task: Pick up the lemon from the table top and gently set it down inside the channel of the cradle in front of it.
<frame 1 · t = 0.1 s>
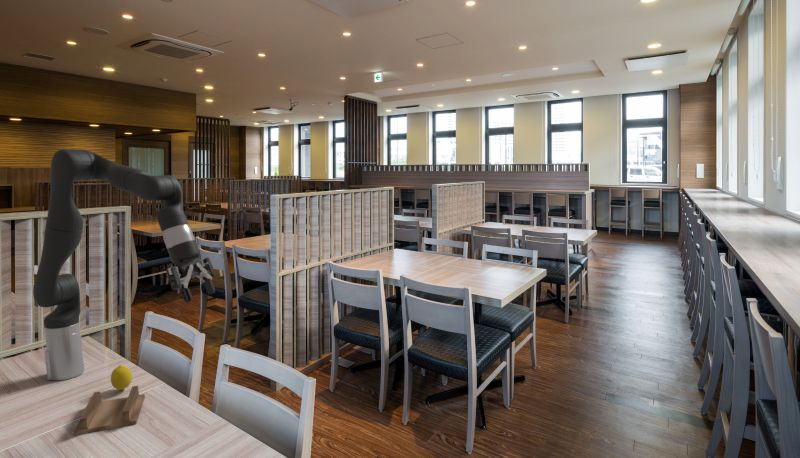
hand: (201, 297, 128), 31 cm above the table, tool tilted 20°, fingers open, 8 cm apart
cradle: (112, 414, 126), on the table
lemon: (122, 390, 140), on the table
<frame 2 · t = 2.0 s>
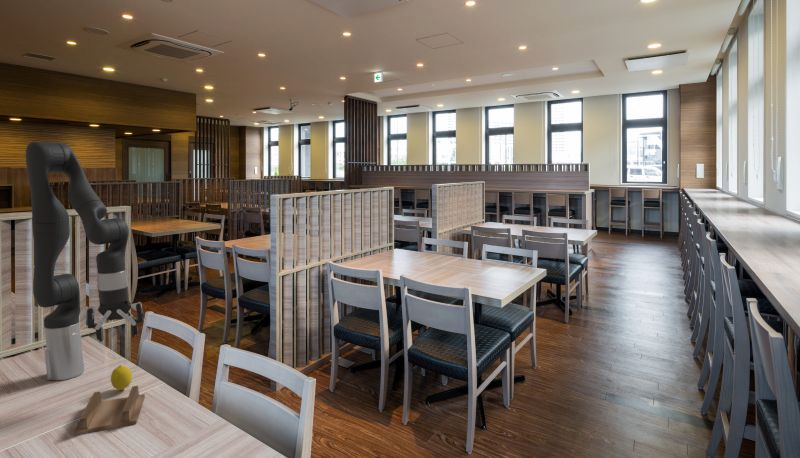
hand: (118, 338, 138), 17 cm above the table, tool pointing down, fingers open, 8 cm apart
nothing on the table moved.
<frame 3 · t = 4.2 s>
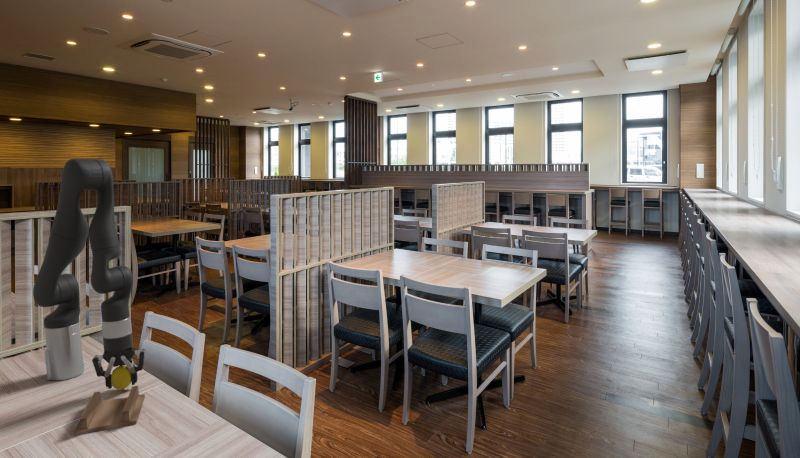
hand: (122, 385, 140), 2 cm above the table, tool pointing down, fingers closed on lemon, 5 cm apart
lemon: (122, 390, 140), on the table, touching gripper
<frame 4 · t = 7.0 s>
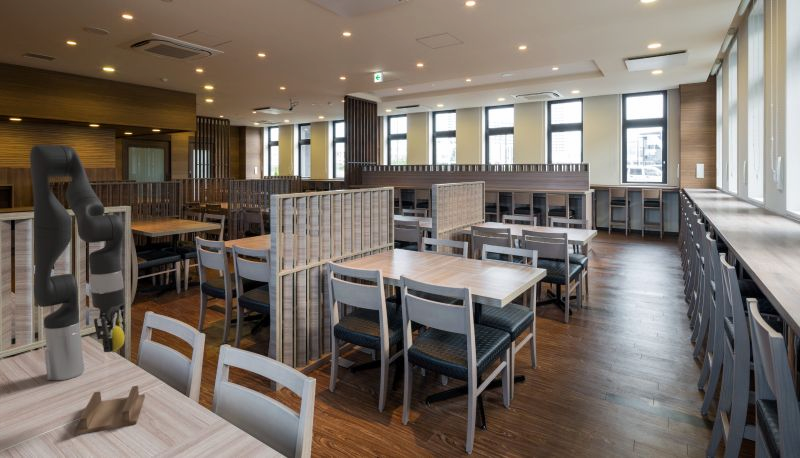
hand: (113, 347, 127), 18 cm above the table, tool pointing down, fingers closed on lemon, 5 cm apart
lemon: (114, 352, 127), point 16 cm above the table, touching gripper
when the fingers open (4 cm above the table, at t = 9.8 s): lemon drops 1 cm, resting on cradle.
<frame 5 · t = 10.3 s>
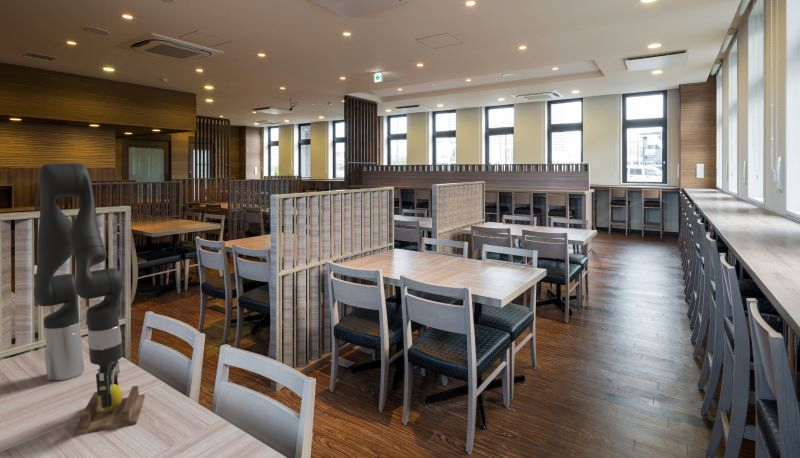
hand: (110, 399, 125), 5 cm above the table, tool pointing down, fingers open, 8 cm apart
lemon: (112, 411, 126), point 1 cm above the table, touching cradle
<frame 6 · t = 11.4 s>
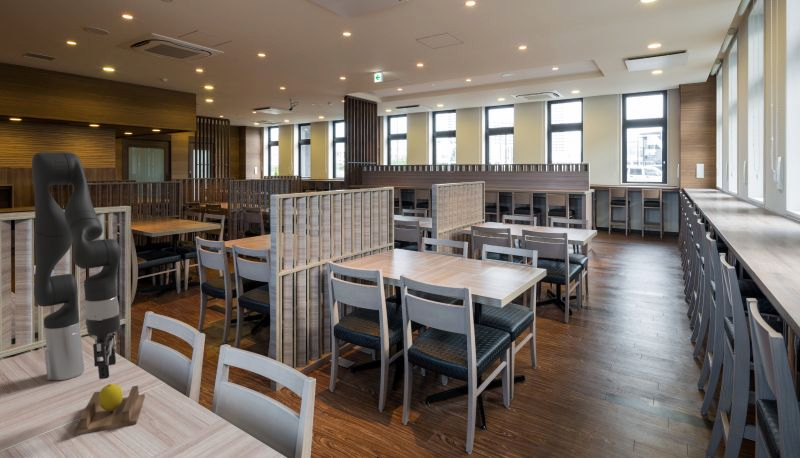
hand: (107, 371, 124), 13 cm above the table, tool pointing down, fingers open, 8 cm apart
nothing on the table moved.
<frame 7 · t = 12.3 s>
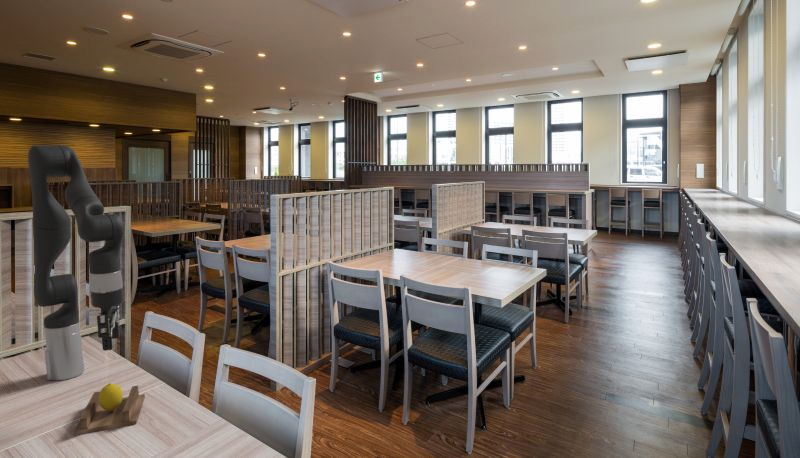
hand: (111, 343, 127), 19 cm above the table, tool pointing down, fingers open, 8 cm apart
nothing on the table moved.
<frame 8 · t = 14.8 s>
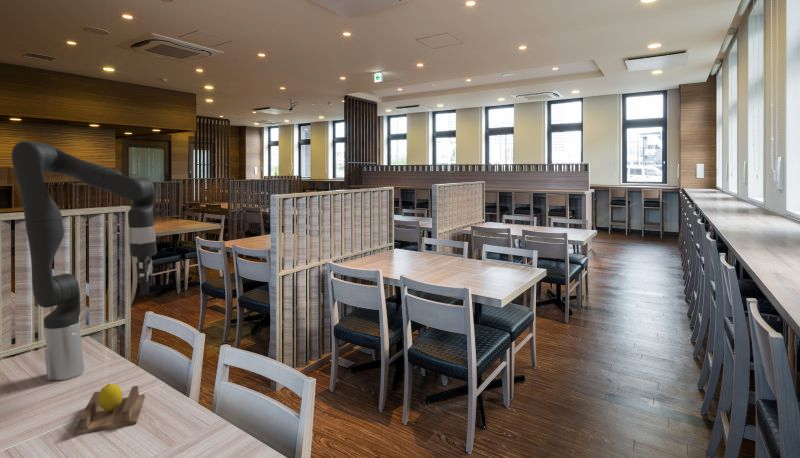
hand: (146, 289, 149), 28 cm above the table, tool pointing down, fingers open, 8 cm apart
nothing on the table moved.
at the end: lemon inside the target area on the cradle (0.1 cm from its centre), point 0.8 cm above the cradle's base; lemon touching cradle; the gripper is holding nothing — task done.
